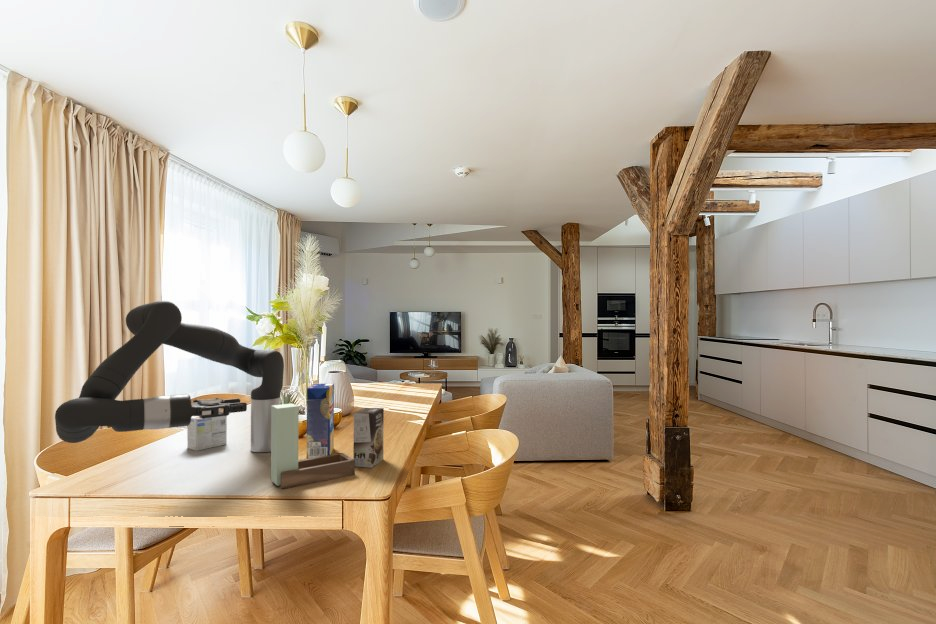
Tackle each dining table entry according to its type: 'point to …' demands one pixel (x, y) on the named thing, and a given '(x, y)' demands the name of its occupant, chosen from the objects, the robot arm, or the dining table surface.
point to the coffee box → (368, 437)
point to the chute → (318, 470)
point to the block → (284, 440)
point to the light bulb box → (207, 432)
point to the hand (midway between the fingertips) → (242, 404)
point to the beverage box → (320, 420)
